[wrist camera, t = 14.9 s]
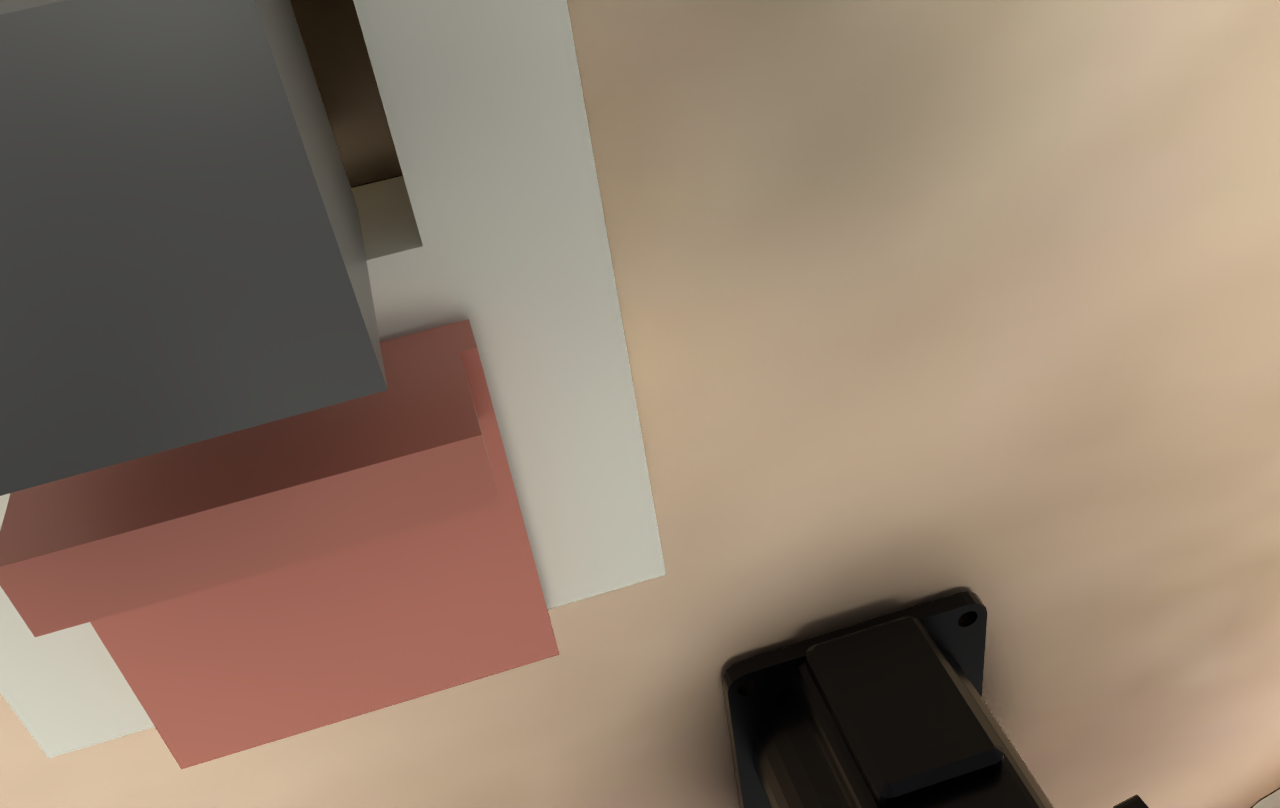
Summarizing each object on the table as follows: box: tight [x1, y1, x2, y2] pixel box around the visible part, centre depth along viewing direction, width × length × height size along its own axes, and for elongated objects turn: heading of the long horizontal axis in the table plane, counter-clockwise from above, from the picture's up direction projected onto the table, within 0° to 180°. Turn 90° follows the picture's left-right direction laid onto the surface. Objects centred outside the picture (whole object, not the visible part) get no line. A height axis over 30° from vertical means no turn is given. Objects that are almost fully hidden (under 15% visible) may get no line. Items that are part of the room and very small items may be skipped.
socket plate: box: [0, 0, 666, 758], centre depth 16 cm, size 18×11×2 cm, turn 8°
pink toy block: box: [0, 319, 559, 769], centre depth 17 cm, size 6×6×3 cm
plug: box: [0, 0, 388, 496], centre depth 13 cm, size 4×4×7 cm
